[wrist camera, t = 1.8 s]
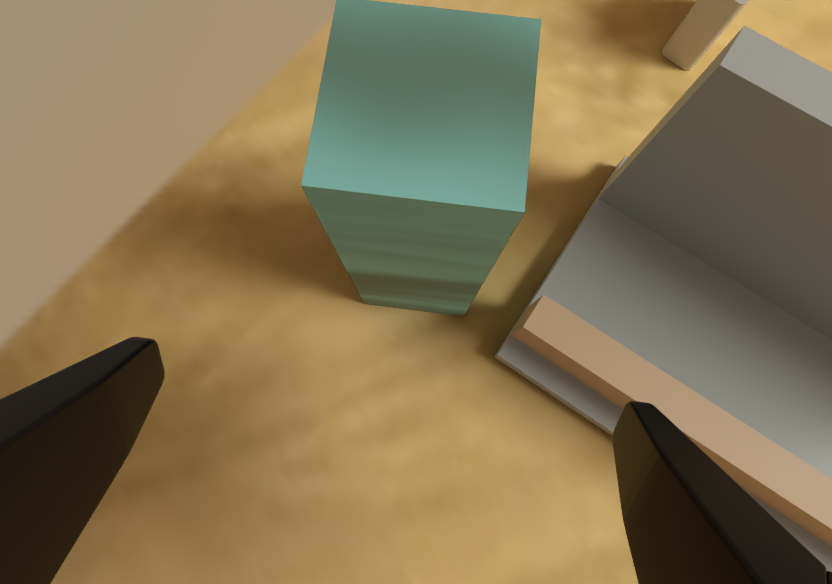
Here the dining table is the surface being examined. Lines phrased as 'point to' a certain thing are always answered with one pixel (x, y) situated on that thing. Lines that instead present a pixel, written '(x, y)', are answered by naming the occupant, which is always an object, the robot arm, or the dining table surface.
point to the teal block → (422, 148)
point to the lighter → (700, 30)
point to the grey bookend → (711, 284)
